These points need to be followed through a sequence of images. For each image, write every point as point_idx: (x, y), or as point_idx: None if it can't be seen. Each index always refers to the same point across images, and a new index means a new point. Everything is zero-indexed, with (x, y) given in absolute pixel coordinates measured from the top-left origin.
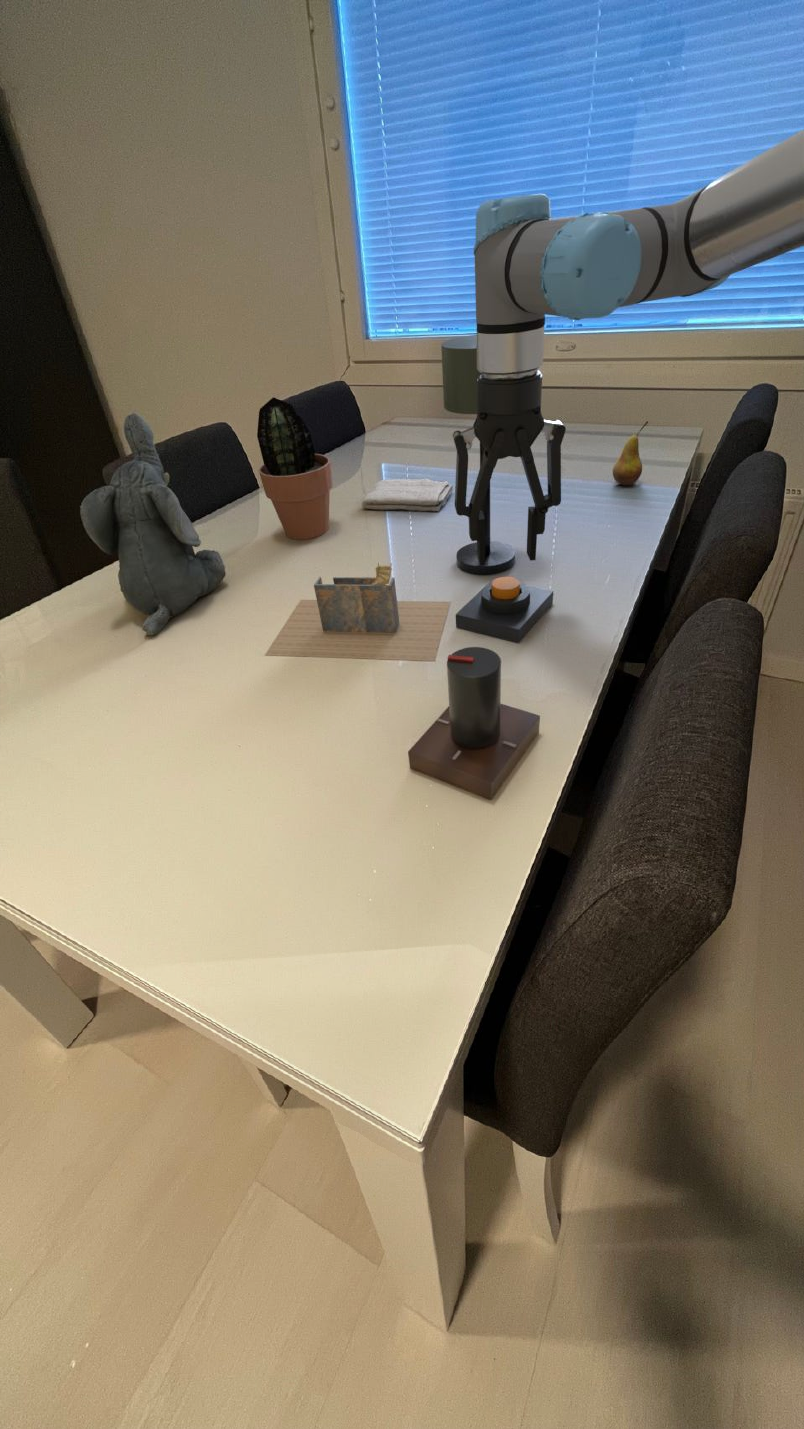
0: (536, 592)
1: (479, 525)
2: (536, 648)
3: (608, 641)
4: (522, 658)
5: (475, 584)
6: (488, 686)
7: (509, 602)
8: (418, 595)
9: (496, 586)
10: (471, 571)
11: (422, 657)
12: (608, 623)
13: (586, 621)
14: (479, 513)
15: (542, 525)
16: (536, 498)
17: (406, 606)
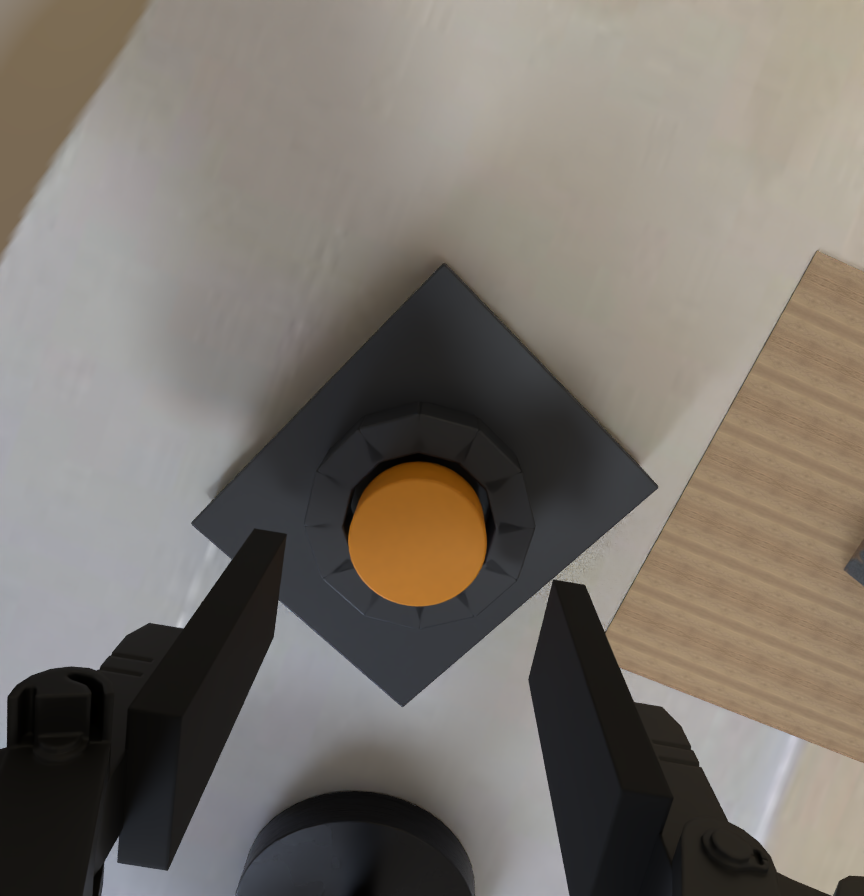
0: None
1: (654, 758)
2: (388, 198)
3: (86, 145)
4: (469, 143)
5: (453, 746)
6: None
7: (437, 422)
8: (692, 745)
9: (471, 528)
10: (442, 830)
11: (853, 293)
12: (41, 281)
13: (123, 328)
14: (685, 850)
15: (127, 660)
16: (70, 838)
17: (768, 683)
